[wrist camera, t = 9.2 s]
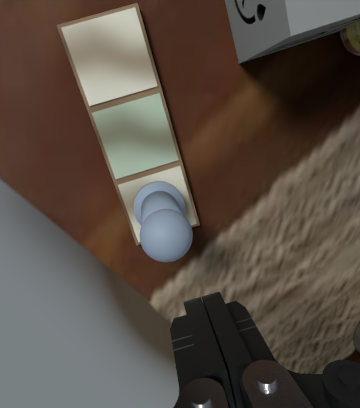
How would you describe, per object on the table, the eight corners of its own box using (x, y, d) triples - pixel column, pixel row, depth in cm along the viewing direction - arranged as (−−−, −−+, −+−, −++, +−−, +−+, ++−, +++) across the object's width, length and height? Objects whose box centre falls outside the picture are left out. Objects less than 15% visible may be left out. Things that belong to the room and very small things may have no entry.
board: (198, 222, 32) (200, 225, 31) (136, 242, 32) (136, 245, 31) (137, 6, 26) (137, 2, 25) (59, 28, 25) (55, 24, 24)
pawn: (188, 219, 31) (211, 265, 21) (142, 234, 30) (145, 287, 21) (175, 174, 29) (194, 202, 20) (127, 189, 29) (122, 224, 19)
